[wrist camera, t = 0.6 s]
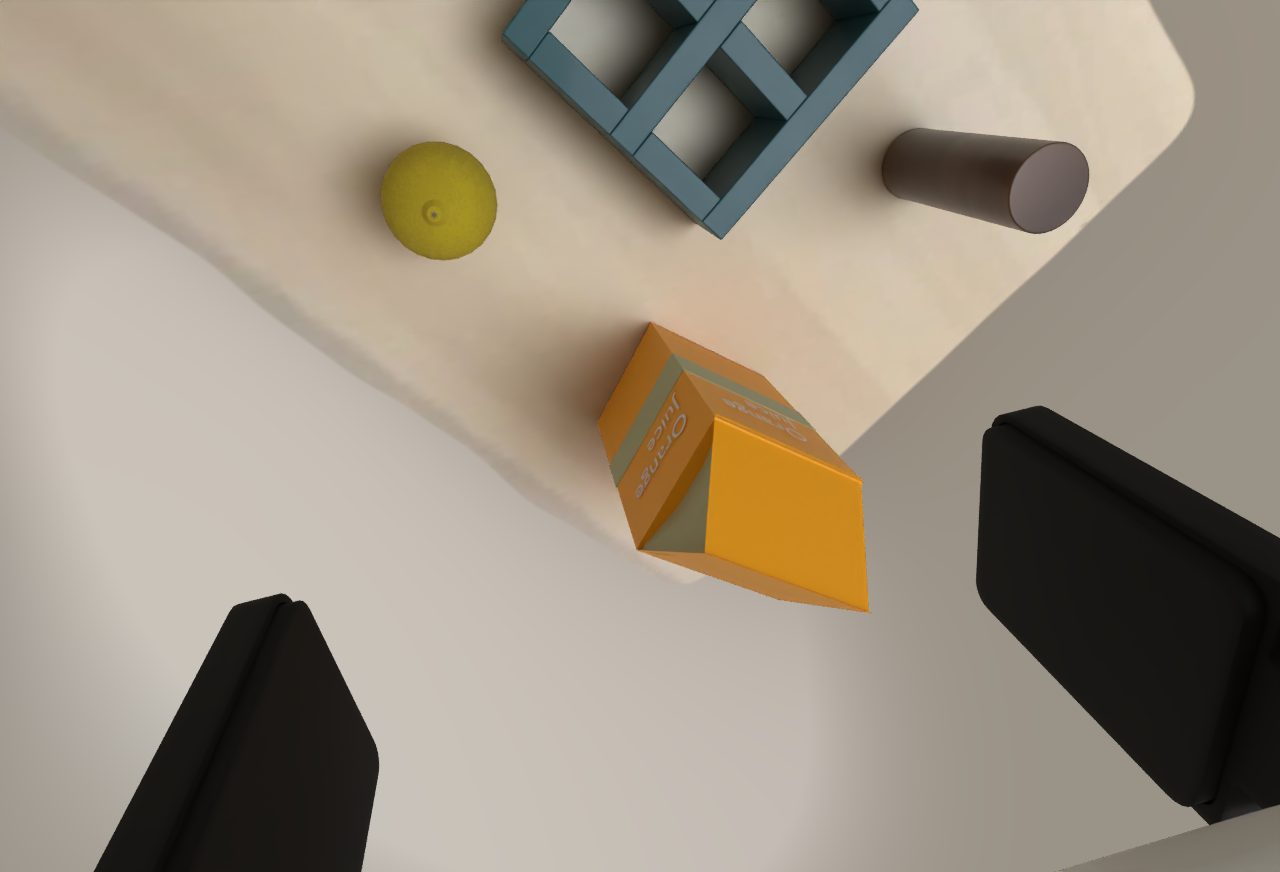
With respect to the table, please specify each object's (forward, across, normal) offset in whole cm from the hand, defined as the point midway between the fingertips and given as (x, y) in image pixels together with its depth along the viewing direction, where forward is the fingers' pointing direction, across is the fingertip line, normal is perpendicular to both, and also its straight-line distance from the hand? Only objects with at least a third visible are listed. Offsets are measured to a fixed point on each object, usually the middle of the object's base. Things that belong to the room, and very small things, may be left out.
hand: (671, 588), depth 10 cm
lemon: (+35, +5, -2) cm, 35 cm away
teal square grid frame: (+35, -10, -8) cm, 37 cm away
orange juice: (+35, -6, +13) cm, 38 cm away
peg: (+35, -23, +2) cm, 42 cm away
